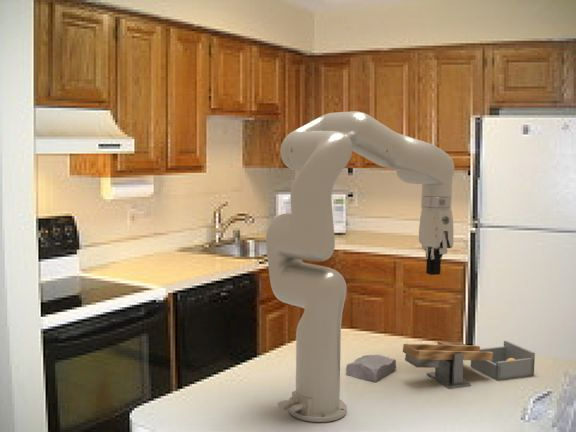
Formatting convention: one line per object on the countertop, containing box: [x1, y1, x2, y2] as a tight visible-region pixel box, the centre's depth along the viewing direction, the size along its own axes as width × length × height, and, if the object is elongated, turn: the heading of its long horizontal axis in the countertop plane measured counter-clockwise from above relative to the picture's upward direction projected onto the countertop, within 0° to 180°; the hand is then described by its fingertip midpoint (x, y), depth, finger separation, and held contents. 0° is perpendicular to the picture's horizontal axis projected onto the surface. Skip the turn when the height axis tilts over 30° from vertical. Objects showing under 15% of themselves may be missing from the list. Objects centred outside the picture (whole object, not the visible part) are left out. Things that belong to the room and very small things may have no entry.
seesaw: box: [402, 340, 493, 369], centre depth 158 cm, size 22×14×4 cm, turn 110°
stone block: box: [345, 354, 397, 383], centre depth 161 cm, size 12×5×10 cm
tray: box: [470, 340, 536, 382], centre depth 162 cm, size 11×11×6 cm
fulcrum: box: [426, 344, 472, 390], centre depth 155 cm, size 6×10×8 cm, turn 19°
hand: (433, 273), depth 163 cm, fingers closed
